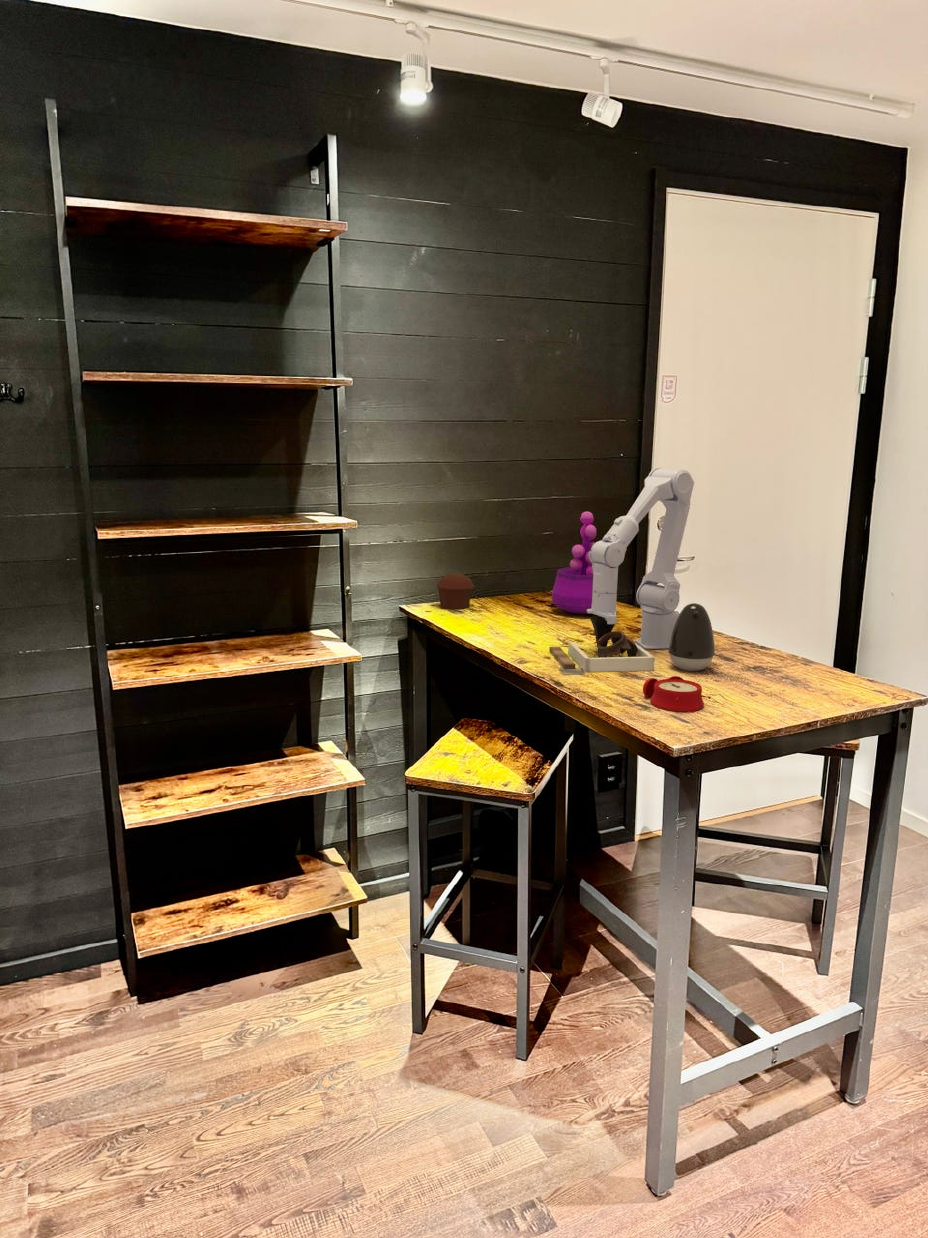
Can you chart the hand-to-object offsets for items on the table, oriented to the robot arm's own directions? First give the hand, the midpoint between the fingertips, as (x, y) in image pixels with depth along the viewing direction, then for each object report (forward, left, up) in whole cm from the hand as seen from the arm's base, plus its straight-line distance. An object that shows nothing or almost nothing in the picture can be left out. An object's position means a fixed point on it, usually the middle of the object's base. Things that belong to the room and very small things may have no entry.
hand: (601, 646), depth 206 cm
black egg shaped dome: (-17, +13, -2) cm, 22 cm away
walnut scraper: (+11, +6, -2) cm, 13 cm away
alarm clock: (-4, +36, -2) cm, 37 cm away
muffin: (+29, -59, -2) cm, 65 cm away
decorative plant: (-8, -48, -2) cm, 48 cm away
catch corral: (0, +6, -2) cm, 7 cm away
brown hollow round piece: (-2, +6, -2) cm, 7 cm away
